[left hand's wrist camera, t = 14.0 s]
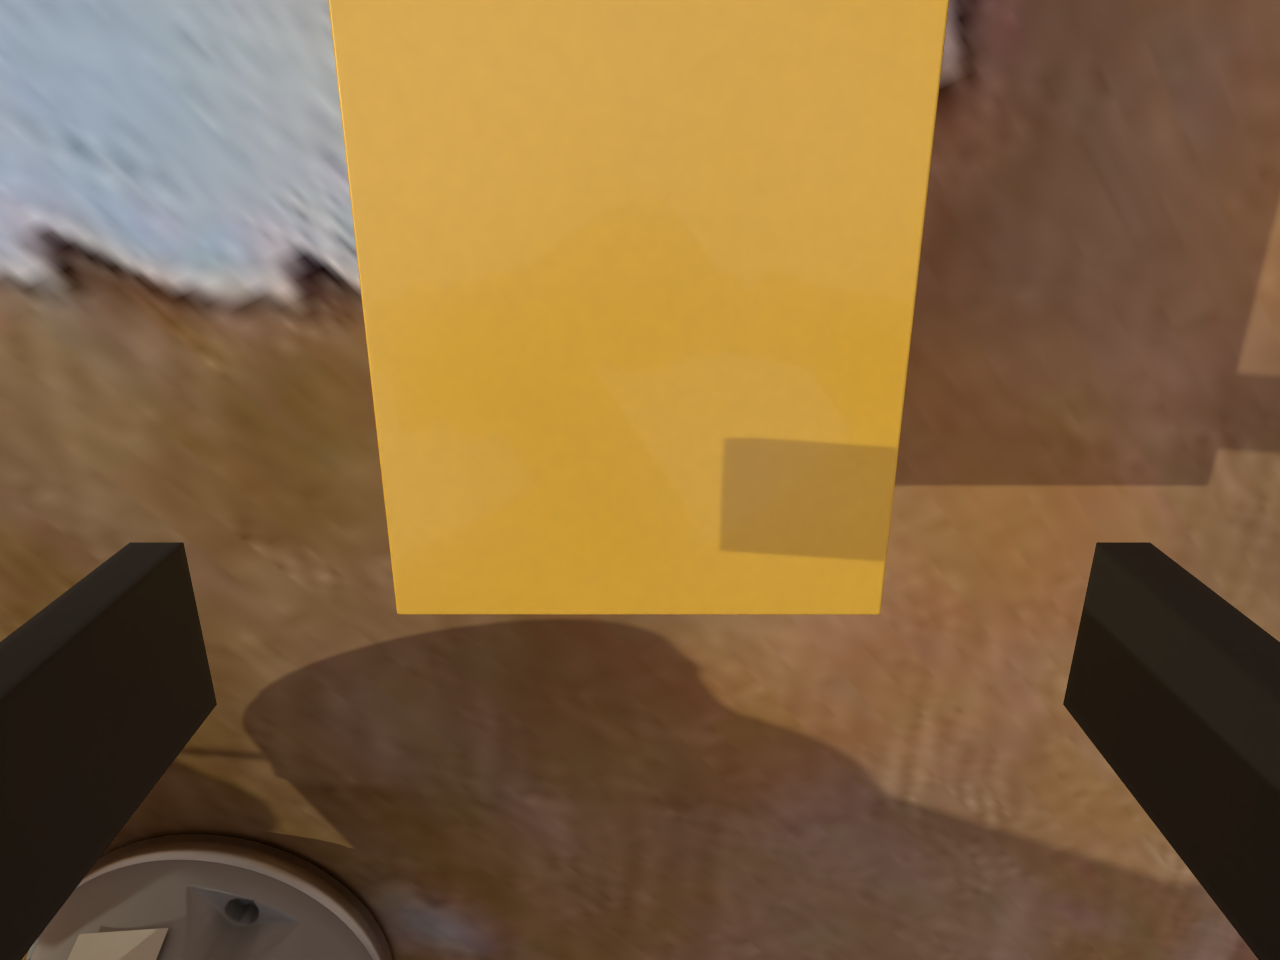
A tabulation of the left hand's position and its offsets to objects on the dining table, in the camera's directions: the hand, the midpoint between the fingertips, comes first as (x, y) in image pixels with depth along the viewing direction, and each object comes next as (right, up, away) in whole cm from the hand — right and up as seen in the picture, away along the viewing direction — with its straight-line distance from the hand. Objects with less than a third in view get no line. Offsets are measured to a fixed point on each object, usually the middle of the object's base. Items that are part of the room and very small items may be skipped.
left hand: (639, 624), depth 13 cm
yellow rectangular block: (0, +13, +14) cm, 19 cm away
